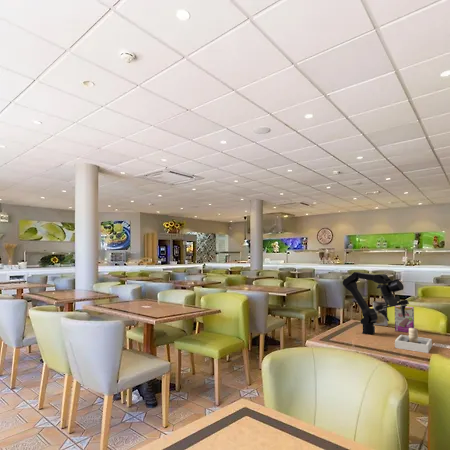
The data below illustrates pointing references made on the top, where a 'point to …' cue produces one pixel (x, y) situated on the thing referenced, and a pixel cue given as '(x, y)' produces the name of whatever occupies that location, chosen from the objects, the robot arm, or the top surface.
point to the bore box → (413, 344)
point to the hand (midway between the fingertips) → (396, 319)
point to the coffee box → (380, 314)
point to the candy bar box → (404, 319)
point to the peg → (413, 335)
